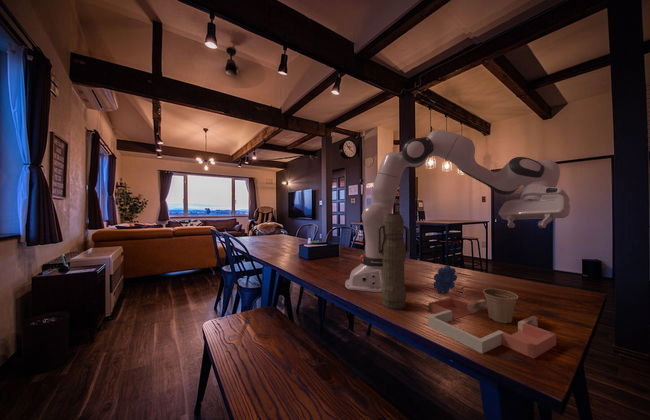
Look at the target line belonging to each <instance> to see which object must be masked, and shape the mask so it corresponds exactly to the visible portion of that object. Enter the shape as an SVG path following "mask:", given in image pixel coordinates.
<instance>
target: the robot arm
mask: <svg viewBox="0 0 650 420" xmlns="http://www.w3.org/2000/svg"><path fill="white" fill-rule="evenodd" d="M475 155H476V147H475V143H474V142H473V140H472V139H470V138H469V137H467V136H464V135H462V134H459V133H456V132H453V131H448V130H442V129H434V130H433V131H431V132H430V133H429V134H428V135H427V136H425V137H415V138H411V139H409V140H408V141H406V142H405V143H404V145H403V146H402V150H401V151H400V152H395V151H394V152H393V151H392V152H390V151H389V152H387V153H386V154H385V155H384V156H383V158H382V160H381V163H380V165H379V167H378V170H377V174H376V177H375V180H374V184H373V187H372V195H371V199H370V200H371V201H370V204H369V205H367V206H366V207H365V208H364V209H363V211H362V214H361V220H362V223H363V225H362V226H363V232H364V237H365V238H364V241H365V255H363V254H361V255H360V256H359V258H360V261H361V263H360V264H358V265H357V266H356V267H355V268H354V269H352V270H351V272H350V275H349V278H348V279H346V280H345V282H344V283H345V284H344V286H345V288H346V289H347V290H350V291H351V290H352V291H363V292H371V293H372V292H373V293H382V284H383V260H382V254H381V253H378V239H377V229H378V228H379V226H382V225H383V220H384V217H385V215H387V214H393V210H394V205H395V201H396V197H397V193H398V189H399V186H400V183H401V179H402V176H403V173H404V171H405V169H416V168H419V167H421V166H423V165H424V164H425V163H426V161H427V160H428V158H429V157H439V158H442V159H444V160H446V161H449V162H451V163H452V164H453V165H454V166H456V168H457V169H458V170H459V171H460V172H461V173H464V174H466V175H467V176H469V177H470V178H472V179H474V180H476V181H478V182H480V183H482V184H484V185H485V186H487V187H489V188H490V189H491V190H492V191H494V192H495V193H497V194H500V195H501V196H508V195H509V196H510V195H512V194H514V193H515V192H516V191H518V190H519V188H521V186H523V190H522V192H521V195H520V198H511V199H508V200H507V201H505V202H504V203H503V204H502V206H501V207H500V209H499V211H498V215H499V216H500V218H501V219H502V220H506V221H507V227H508V228H509V229H511V228H512V229H513V228H515V226H516V224H515V223H514V221H515V220H536V219H537V220H538V219H539V221H538V223H537V227H539V229H543V228H544V229H545V228H547V225H548V224H549V223H551V222H552V221H553V220H554V219H565V218H567V217H568V216H569V214H570V210H571V204H570V202H571V199H570V196H569V195H568V194H567V193H566V190H564V189H563V188H561V187H557V185H558V183H559V180H560V176H561V168H560V166H559V164H558V162H557V163H556V162H555V161H553V160H550V159H541V160H535V159H532V158H529V157H525V156H516V157H513V158H511V159H510V160H509V161H508V162H507V163H506V164H505V165H504V166H503V167H502V169H500V171H498V172H497V171H496V172H495V171H492V170H490V169H488V168H486V167H485V166H483V165H481V164H479V163H478V162H477V161H476V156H475ZM541 219H542V220H541ZM383 237H384V234H383V228H381V249H382V242H383Z"/></svg>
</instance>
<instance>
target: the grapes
mask: <svg viewBox="0 0 650 420" xmlns="http://www.w3.org/2000/svg"><path fill="white" fill-rule="evenodd" d="M456 272H457V271H456V268H454V267H451V266H450V265H447V264H446V265H445V266H444V267H439V268H438V270H437V273H436V274H434V276H433V280H434V282H433V283H432V285H433V288H434V289H436V292H437V293H439V294H442V293H444V294H447V293H449V292H450V289H454V288H455V286H456V283H455V282H457V279H458V276H457V274H456Z"/></svg>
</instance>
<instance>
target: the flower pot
mask: <svg viewBox="0 0 650 420" xmlns="http://www.w3.org/2000/svg"><path fill="white" fill-rule="evenodd" d="M482 292H483V294H484V297H485V300H486V309H487V312H488V313H487V314H488V318H489V319H491V320H493V321H494V322H497V323H501V324H507V323H510V324H511V323H512V322H513V316H514V311H515V307H516V306H515V305H516V303H517V300H518V299H519V296H518V295H517V294H516V293H514V292H512V291H509V290H504V289H499V288H484V289H483V290H482Z"/></svg>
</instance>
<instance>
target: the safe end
mask: <svg viewBox="0 0 650 420" xmlns="http://www.w3.org/2000/svg"><path fill="white" fill-rule="evenodd" d="M451 321H453V320H452V311H451V310H446V311H443V312H440V313H437V314H433V313H432V314H431V315H428V316H427V326H428V327H430V328H431V329H433V330H435V331H438V332H439V333H441V334H443V335H445V336H446V337H449V338H451V339H453V340H455V341H457V342H458V343H460V344H462V345H463V346H464V345H465V346H467V347H468V348H471V349H472V350H474V351H476V352H478V353H480V354H484V353H487V352H489V351H492V350H493V349H495V348H497V347H499V346H501V345H502V333H504V331H502V330H499V329H498V330H496V331H494V332H492V333H489V334H487V335H485V336H482V337H478V336H476V335H474V334H471V333H469V332H467V331H465V330H462V329H460V328H458V327H456V326H453V325H452V324H450V323H448V322H451Z"/></svg>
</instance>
